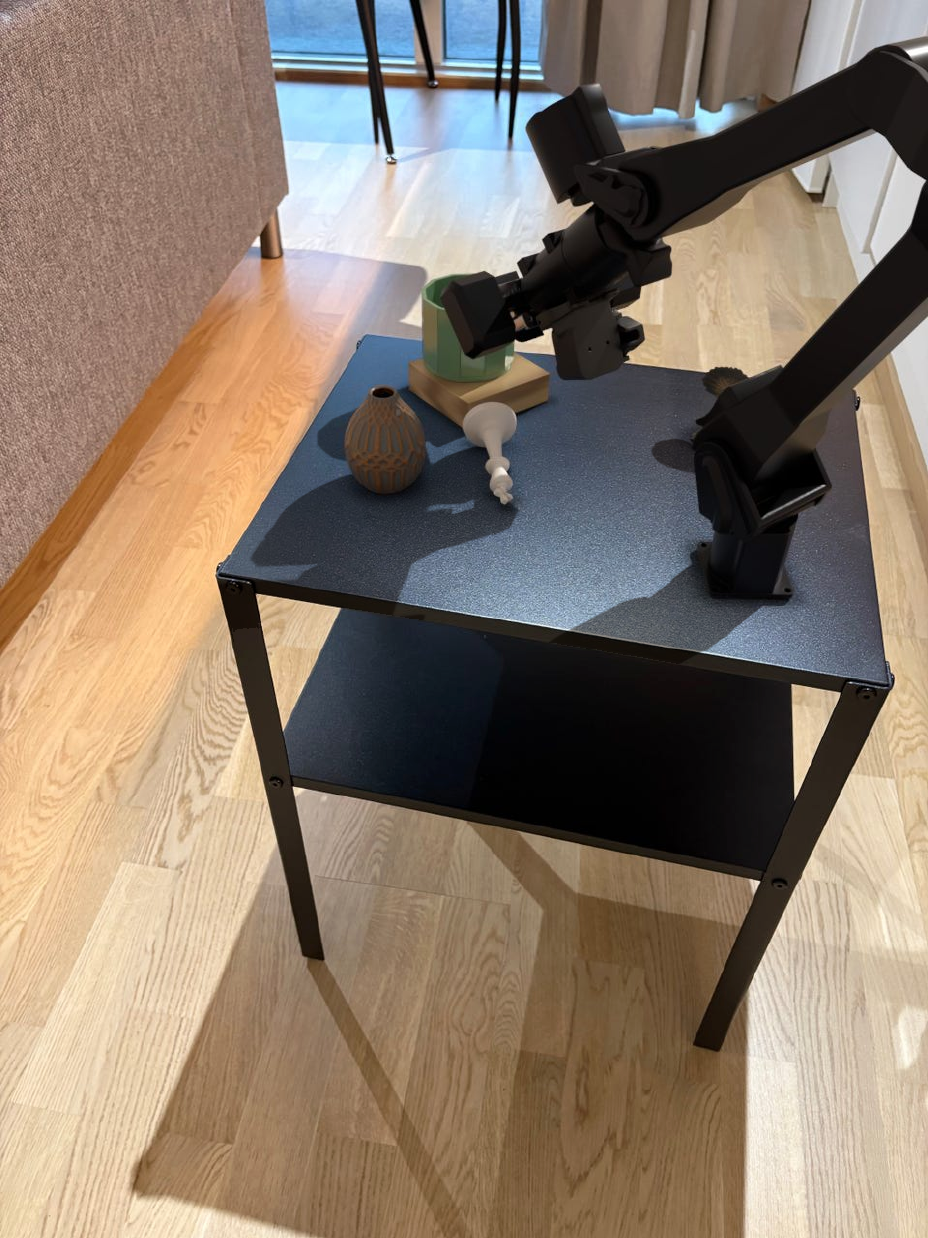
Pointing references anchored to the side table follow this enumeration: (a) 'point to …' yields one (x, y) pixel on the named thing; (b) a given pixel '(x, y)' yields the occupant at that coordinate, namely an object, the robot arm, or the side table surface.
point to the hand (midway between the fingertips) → (499, 332)
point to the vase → (385, 442)
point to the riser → (481, 389)
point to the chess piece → (493, 441)
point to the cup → (454, 342)
